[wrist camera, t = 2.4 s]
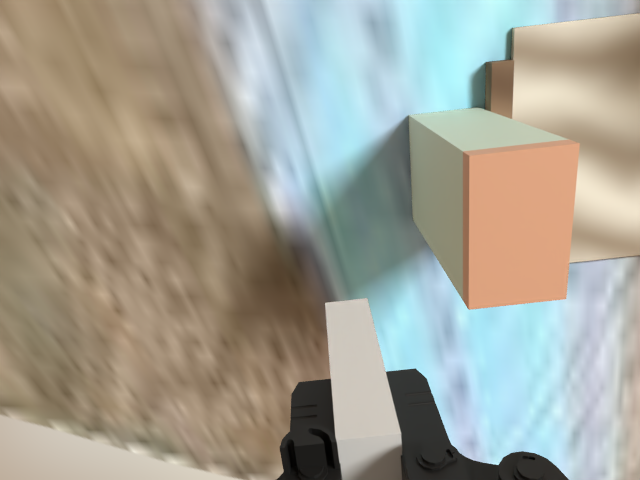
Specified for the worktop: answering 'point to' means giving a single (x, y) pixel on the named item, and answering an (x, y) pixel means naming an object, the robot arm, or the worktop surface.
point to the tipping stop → (583, 118)
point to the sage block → (494, 204)
